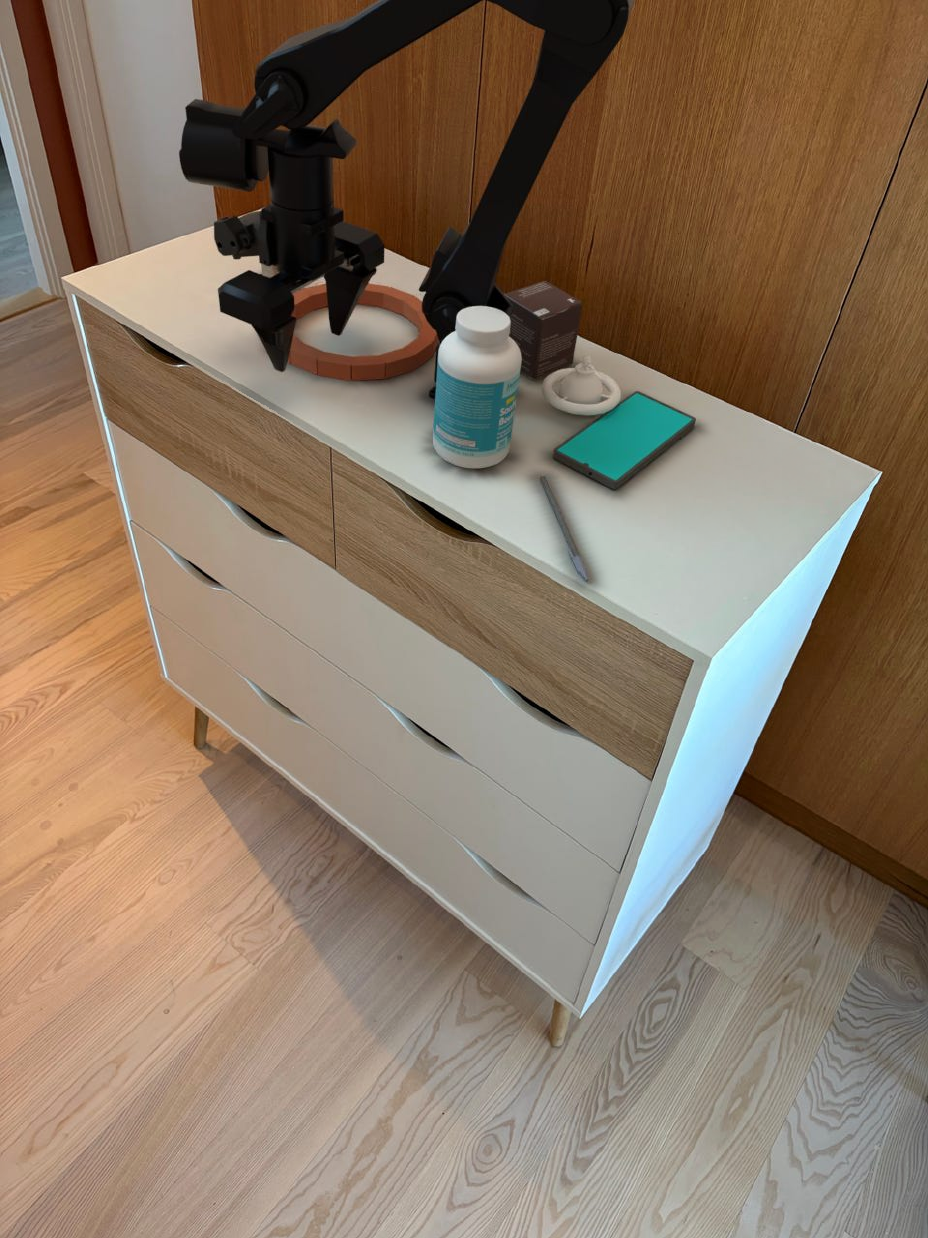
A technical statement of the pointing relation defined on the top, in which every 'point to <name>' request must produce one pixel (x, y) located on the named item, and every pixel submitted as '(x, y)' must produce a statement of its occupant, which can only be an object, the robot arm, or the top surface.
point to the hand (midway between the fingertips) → (308, 351)
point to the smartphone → (624, 439)
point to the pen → (565, 530)
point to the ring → (372, 364)
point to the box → (544, 327)
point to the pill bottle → (476, 389)
